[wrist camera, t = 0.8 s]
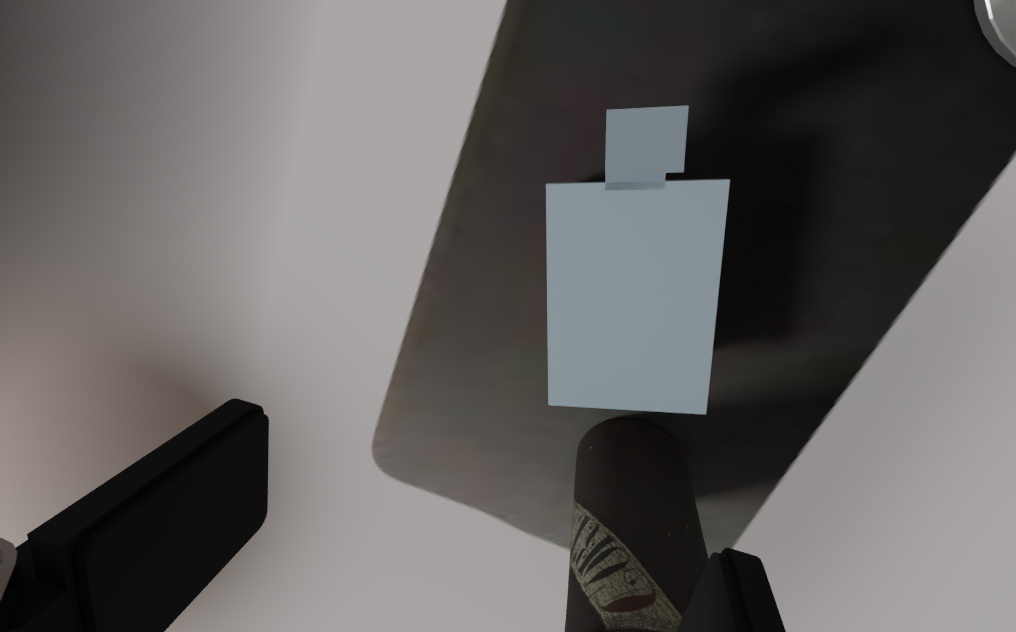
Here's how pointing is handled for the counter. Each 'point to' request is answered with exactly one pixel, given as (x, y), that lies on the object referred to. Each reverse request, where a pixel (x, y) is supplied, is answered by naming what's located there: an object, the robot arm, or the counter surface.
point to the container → (632, 532)
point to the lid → (635, 273)
